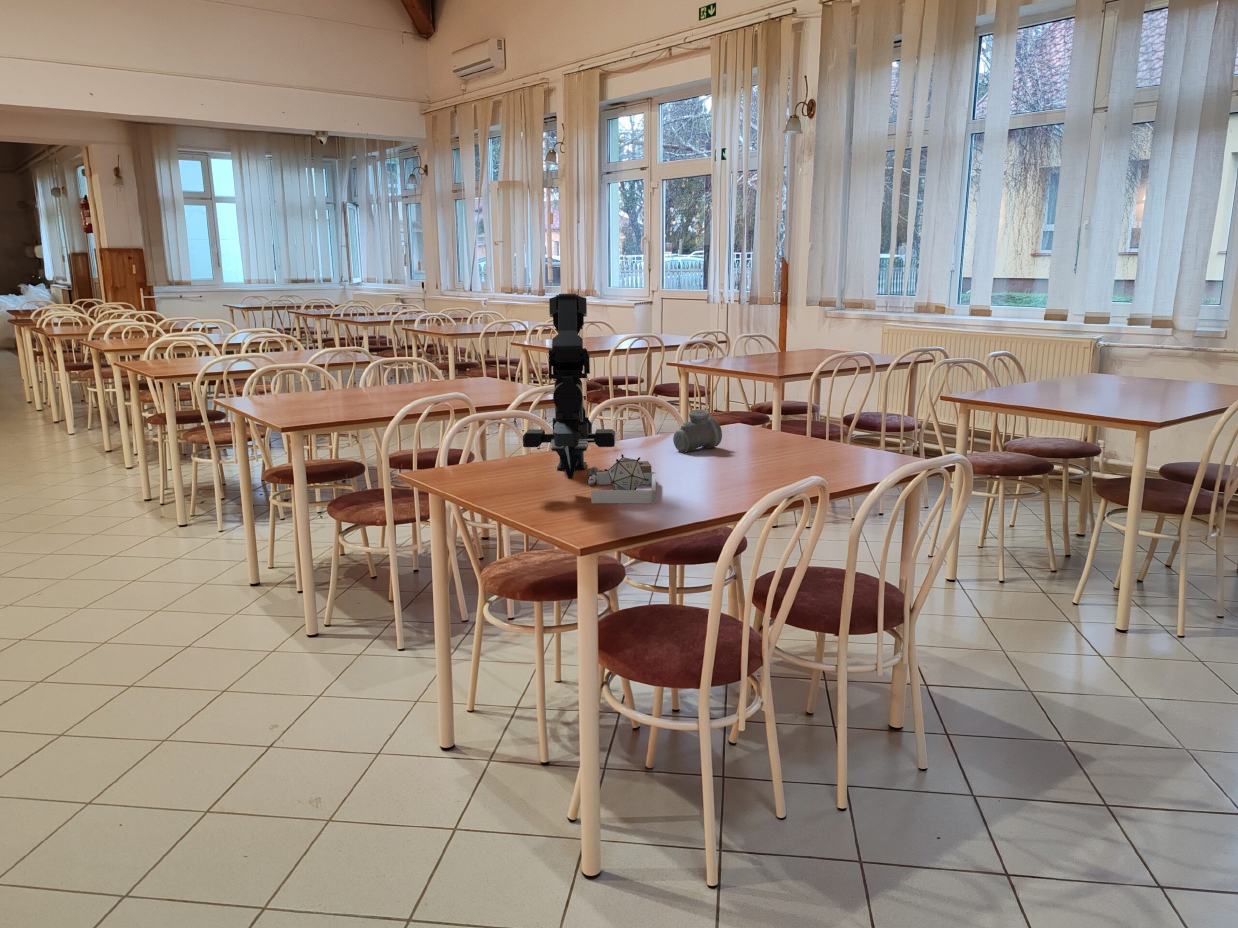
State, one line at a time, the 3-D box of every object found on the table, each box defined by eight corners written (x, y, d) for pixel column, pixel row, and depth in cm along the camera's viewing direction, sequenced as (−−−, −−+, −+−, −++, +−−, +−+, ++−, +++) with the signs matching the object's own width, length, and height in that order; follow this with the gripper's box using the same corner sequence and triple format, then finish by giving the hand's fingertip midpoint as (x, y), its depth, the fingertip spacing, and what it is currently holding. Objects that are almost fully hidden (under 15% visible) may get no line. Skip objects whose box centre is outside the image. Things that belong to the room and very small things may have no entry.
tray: (597, 483, 190) (596, 472, 189) (655, 483, 189) (655, 472, 189) (591, 503, 174) (591, 491, 173) (655, 503, 173) (655, 491, 173)
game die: (623, 512, 180) (602, 481, 174) (612, 489, 187) (592, 458, 181) (660, 491, 180) (641, 459, 174) (648, 469, 187) (629, 437, 181)
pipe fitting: (702, 442, 232) (701, 405, 228) (723, 449, 226) (723, 411, 222) (668, 453, 225) (666, 415, 221) (689, 460, 219) (688, 422, 215)
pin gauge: (588, 477, 195) (588, 466, 195) (599, 477, 195) (599, 466, 195) (586, 485, 188) (585, 475, 187) (597, 485, 188) (597, 475, 187)
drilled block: (625, 479, 193) (625, 461, 192) (647, 478, 194) (647, 460, 193) (628, 484, 188) (628, 466, 187) (651, 483, 189) (651, 465, 188)
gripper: (517, 411, 170) (520, 488, 174) (612, 410, 170) (613, 488, 173) (525, 402, 181) (528, 475, 185) (615, 402, 180) (616, 475, 184)
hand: (570, 478), depth 181 cm, fingers closed
